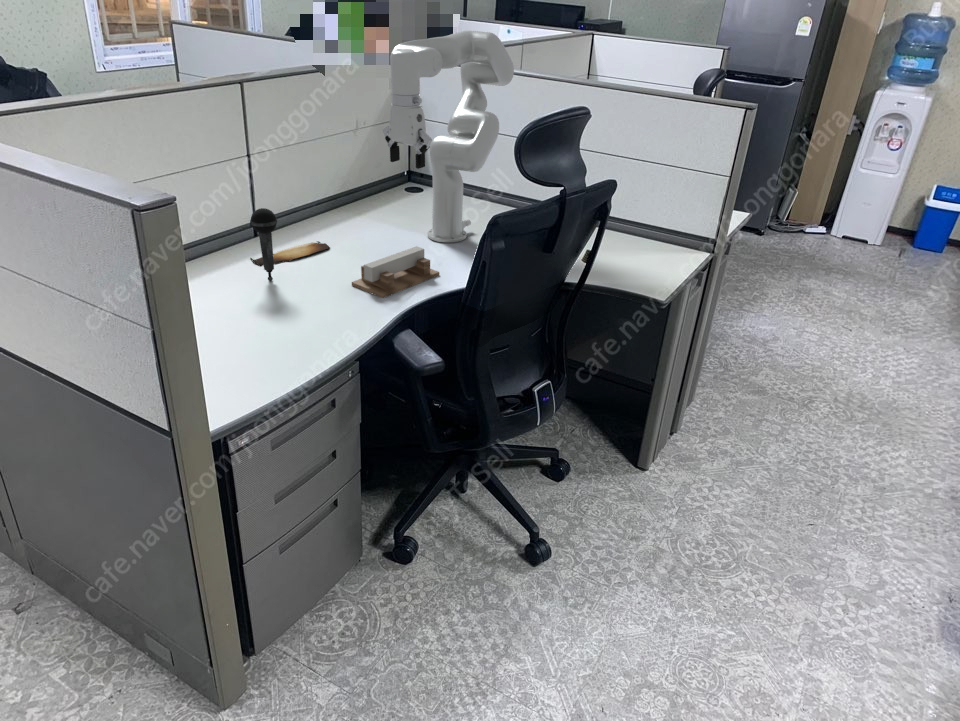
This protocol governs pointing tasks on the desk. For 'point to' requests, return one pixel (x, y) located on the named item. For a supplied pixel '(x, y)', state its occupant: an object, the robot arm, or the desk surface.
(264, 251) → the microphone
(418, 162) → the robot arm
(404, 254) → the clay strip
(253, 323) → the desk surface
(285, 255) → the parchment
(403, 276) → the wooden pegged board
